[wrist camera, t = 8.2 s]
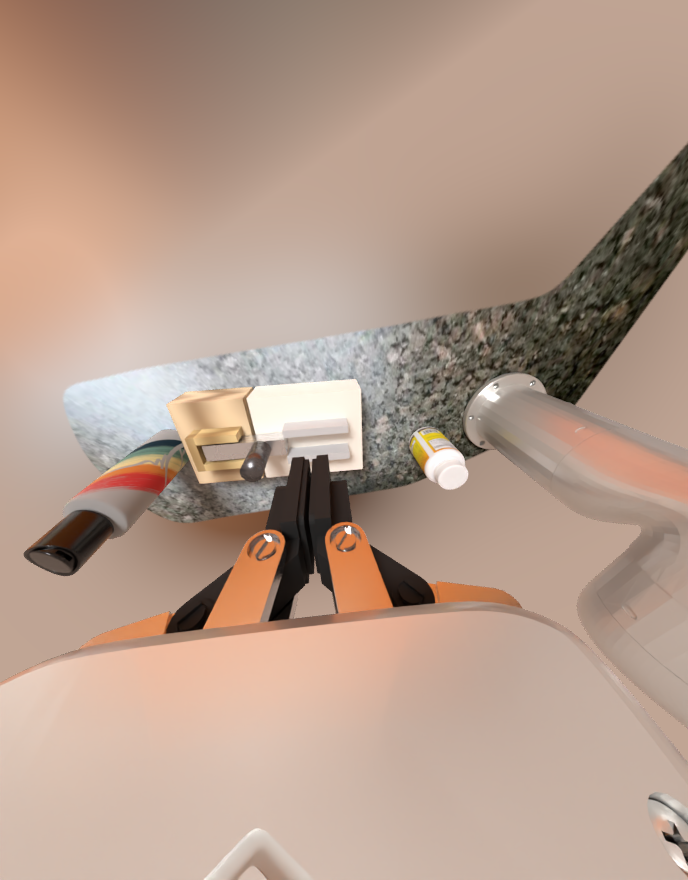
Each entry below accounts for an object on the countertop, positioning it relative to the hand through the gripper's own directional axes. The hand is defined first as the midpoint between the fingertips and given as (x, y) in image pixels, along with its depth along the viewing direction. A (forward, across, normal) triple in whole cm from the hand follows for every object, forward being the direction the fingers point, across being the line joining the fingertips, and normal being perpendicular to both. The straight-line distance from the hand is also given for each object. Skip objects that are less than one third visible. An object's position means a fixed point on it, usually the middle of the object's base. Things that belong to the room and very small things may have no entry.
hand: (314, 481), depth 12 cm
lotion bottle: (+25, +23, +10) cm, 36 cm away
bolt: (+20, +10, +8) cm, 24 cm away
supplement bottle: (+25, -16, +13) cm, 33 cm away
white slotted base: (+25, +2, +8) cm, 26 cm away
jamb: (+25, +14, +8) cm, 30 cm away
